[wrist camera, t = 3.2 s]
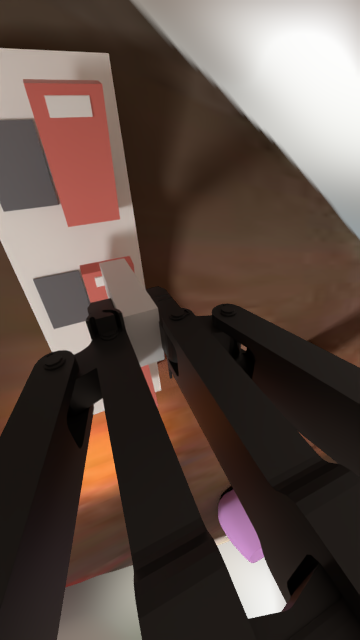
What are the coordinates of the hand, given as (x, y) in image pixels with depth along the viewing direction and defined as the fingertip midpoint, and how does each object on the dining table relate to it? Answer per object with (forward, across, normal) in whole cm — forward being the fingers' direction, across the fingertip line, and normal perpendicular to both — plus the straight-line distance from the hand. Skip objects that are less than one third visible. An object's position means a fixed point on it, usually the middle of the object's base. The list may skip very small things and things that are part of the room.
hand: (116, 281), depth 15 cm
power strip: (+9, -2, -6) cm, 11 cm away
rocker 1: (+3, 0, +6) cm, 7 cm away
